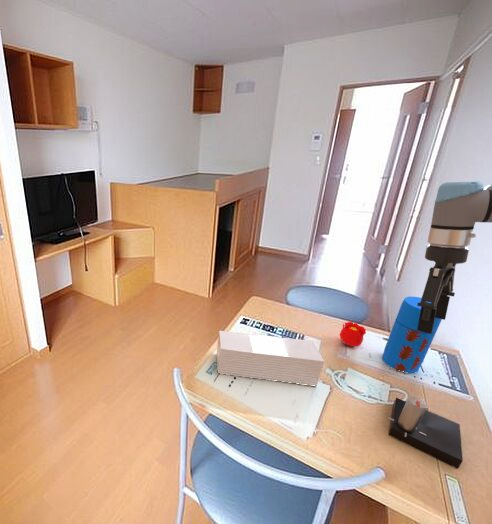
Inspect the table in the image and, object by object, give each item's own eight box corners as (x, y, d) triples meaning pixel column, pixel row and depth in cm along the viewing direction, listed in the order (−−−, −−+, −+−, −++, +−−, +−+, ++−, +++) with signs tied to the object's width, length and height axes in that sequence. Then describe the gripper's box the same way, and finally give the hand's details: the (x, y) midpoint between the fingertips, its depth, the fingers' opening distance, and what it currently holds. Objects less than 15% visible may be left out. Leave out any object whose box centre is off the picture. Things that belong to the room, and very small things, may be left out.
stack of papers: (217, 373, 106) (220, 348, 102) (216, 354, 116) (219, 330, 111) (316, 387, 100) (324, 361, 96) (306, 365, 110) (313, 340, 106)
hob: (455, 431, 85) (460, 423, 84) (458, 472, 75) (463, 463, 74) (388, 402, 95) (391, 394, 93) (382, 435, 84) (386, 427, 83)
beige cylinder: (397, 417, 86) (408, 392, 82) (415, 425, 84) (427, 399, 80) (397, 427, 83) (408, 402, 80) (416, 435, 81) (429, 409, 77)
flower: (362, 343, 122) (368, 326, 119) (358, 352, 117) (364, 335, 114) (340, 335, 127) (345, 319, 124) (335, 343, 122) (340, 327, 119)
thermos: (386, 350, 118) (408, 293, 109) (421, 364, 111) (448, 305, 101) (377, 362, 112) (400, 302, 102) (414, 378, 104) (442, 316, 95)
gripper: (457, 254, 66) (438, 344, 70) (478, 241, 80) (461, 316, 85) (412, 249, 72) (398, 332, 76) (439, 238, 86) (426, 309, 91)
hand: (431, 324), depth 80 cm, fingers open, 13 cm apart
